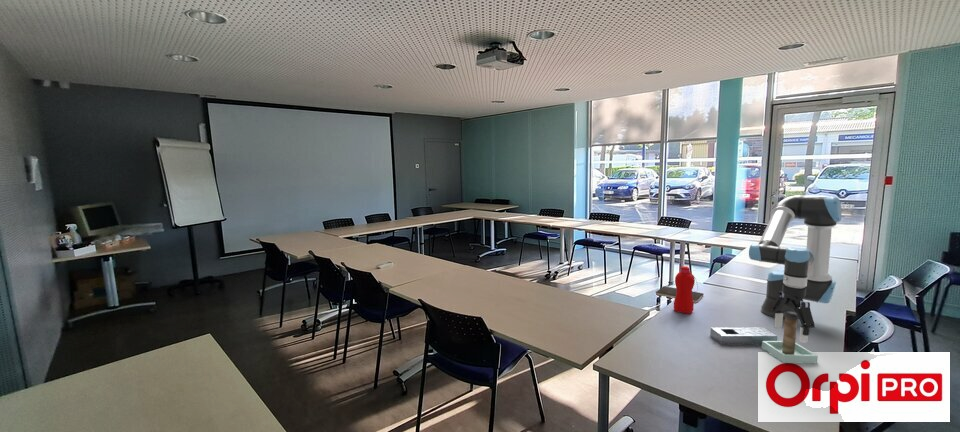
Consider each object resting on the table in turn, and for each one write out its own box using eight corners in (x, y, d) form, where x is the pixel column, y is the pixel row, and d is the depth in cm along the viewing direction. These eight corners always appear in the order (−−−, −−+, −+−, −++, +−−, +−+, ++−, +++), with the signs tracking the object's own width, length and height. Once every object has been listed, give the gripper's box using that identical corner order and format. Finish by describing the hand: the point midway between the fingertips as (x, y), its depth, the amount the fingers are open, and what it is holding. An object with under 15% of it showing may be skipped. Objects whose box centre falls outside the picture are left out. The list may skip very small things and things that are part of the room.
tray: (792, 347, 166) (792, 341, 166) (817, 362, 153) (817, 355, 153) (761, 347, 167) (762, 341, 166) (783, 362, 154) (784, 355, 154)
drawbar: (762, 335, 178) (763, 327, 178) (776, 344, 169) (777, 336, 169) (710, 335, 179) (710, 327, 179) (721, 344, 170) (721, 336, 170)
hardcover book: (696, 304, 221) (696, 300, 221) (655, 295, 237) (655, 291, 236) (703, 296, 233) (703, 293, 232) (663, 289, 248) (663, 285, 248)
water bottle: (695, 316, 203) (697, 270, 199) (672, 311, 209) (674, 267, 206) (697, 310, 210) (700, 266, 207) (675, 306, 216) (677, 263, 213)
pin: (789, 350, 163) (793, 311, 160) (799, 356, 157) (802, 316, 155) (777, 350, 163) (780, 311, 161) (786, 356, 158) (789, 316, 155)
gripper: (763, 276, 169) (760, 322, 171) (809, 295, 144) (804, 348, 147) (781, 276, 168) (777, 322, 171) (830, 295, 144) (824, 348, 146)
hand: (790, 334), depth 159 cm, fingers open, 13 cm apart
